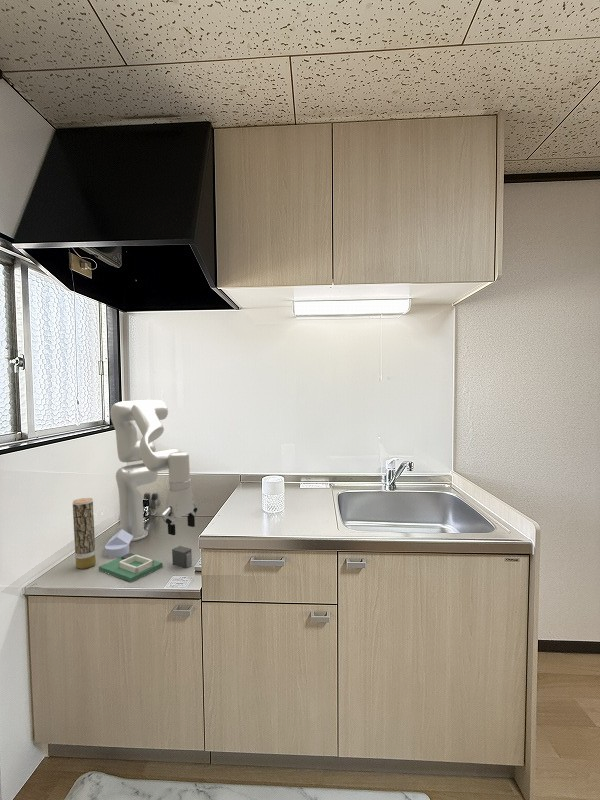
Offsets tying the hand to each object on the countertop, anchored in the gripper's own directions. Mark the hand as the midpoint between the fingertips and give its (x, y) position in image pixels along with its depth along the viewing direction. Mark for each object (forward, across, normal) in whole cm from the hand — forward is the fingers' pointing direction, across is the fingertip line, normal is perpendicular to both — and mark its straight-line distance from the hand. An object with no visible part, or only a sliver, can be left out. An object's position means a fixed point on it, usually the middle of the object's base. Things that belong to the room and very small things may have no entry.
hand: (181, 530), depth 170 cm
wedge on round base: (+13, +4, -33) cm, 35 cm away
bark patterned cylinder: (+13, +19, -32) cm, 39 cm away
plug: (+13, 0, -1) cm, 13 cm away
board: (+13, +12, -15) cm, 23 cm away
